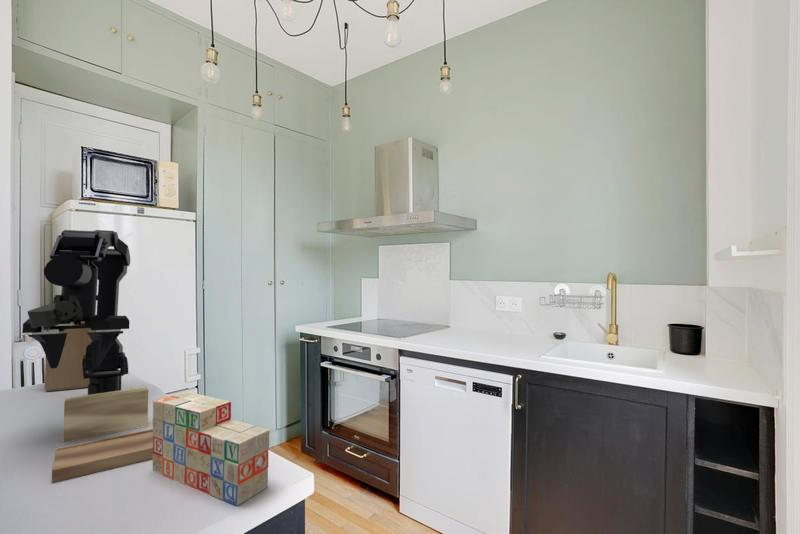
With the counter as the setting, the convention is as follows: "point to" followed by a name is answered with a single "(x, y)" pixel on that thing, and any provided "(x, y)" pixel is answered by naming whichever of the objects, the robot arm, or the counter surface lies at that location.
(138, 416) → the oak plank
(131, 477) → the counter surface
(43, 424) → the counter surface
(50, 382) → the wooden block
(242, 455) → the stack of blocks
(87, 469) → the wooden molding strip
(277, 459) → the counter surface
